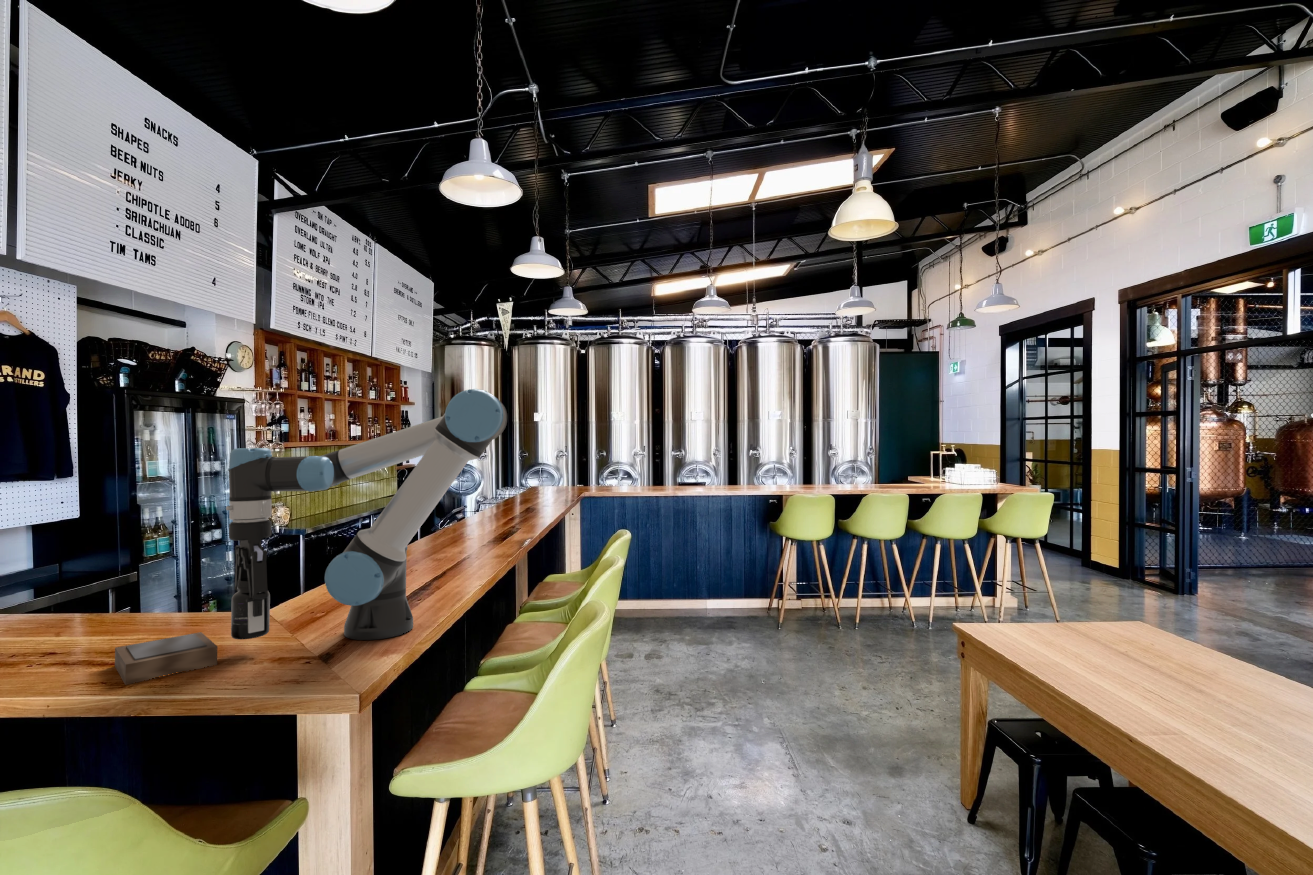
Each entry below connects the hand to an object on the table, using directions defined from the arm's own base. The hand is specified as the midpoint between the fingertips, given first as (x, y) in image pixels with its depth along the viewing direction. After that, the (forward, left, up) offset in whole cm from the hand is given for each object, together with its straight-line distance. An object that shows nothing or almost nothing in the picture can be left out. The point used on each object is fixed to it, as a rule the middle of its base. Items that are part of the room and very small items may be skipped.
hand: (250, 627), depth 128 cm
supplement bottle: (0, 0, -2) cm, 2 cm away
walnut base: (+13, -4, -6) cm, 15 cm away
